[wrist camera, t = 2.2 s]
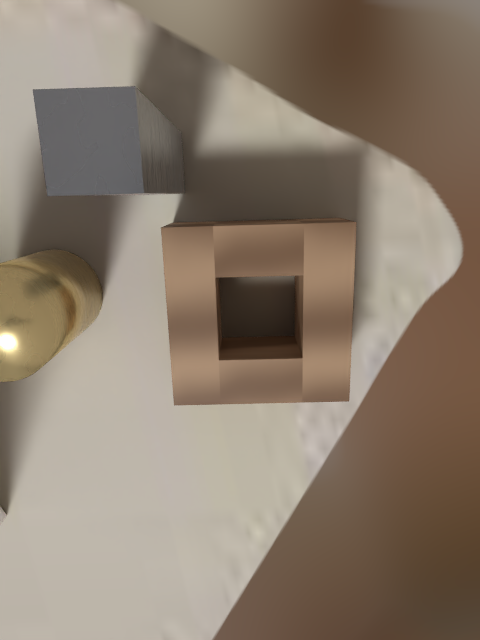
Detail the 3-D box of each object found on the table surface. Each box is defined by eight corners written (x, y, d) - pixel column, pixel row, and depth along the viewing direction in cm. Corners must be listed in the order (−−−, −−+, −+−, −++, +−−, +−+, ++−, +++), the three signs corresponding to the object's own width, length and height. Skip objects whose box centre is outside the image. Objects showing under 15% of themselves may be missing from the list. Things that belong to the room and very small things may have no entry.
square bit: (123, 134, 31) (32, 89, 18) (181, 132, 31) (135, 86, 18) (129, 195, 32) (47, 196, 19) (185, 193, 32) (143, 193, 19)
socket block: (173, 222, 33) (161, 227, 28) (339, 217, 32) (356, 222, 28) (183, 376, 36) (174, 405, 31) (334, 373, 36) (349, 401, 31)
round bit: (8, 250, 33) (-75, 270, 25) (97, 248, 33) (46, 267, 25) (22, 336, 35) (-51, 382, 26) (106, 334, 35) (62, 380, 26)
